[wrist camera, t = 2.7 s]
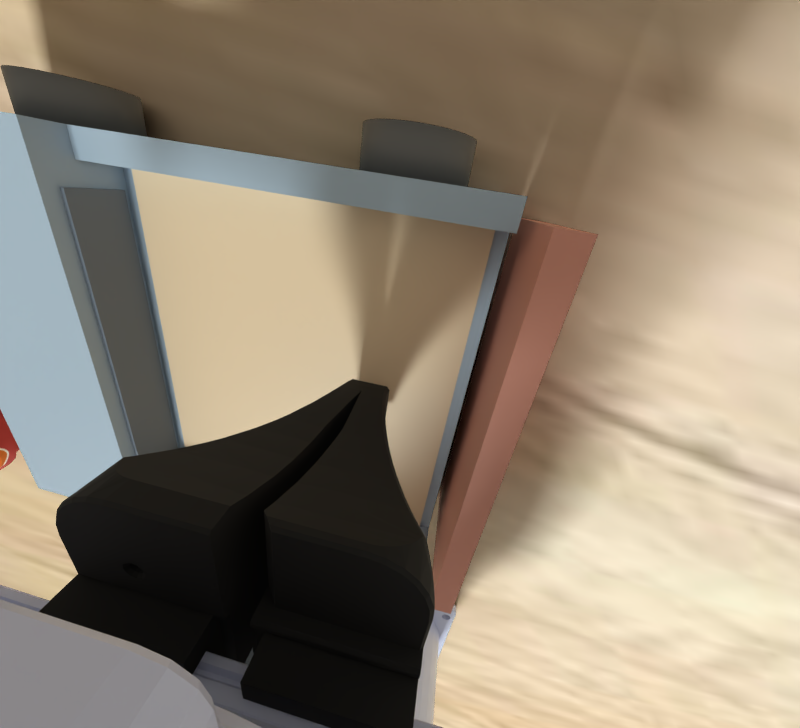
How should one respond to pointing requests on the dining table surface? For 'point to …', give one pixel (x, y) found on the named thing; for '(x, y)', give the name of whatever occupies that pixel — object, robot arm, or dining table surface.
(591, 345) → the dining table surface
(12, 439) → the smoothie
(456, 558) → the tailgate
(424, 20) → the dining table surface
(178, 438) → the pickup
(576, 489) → the dining table surface
